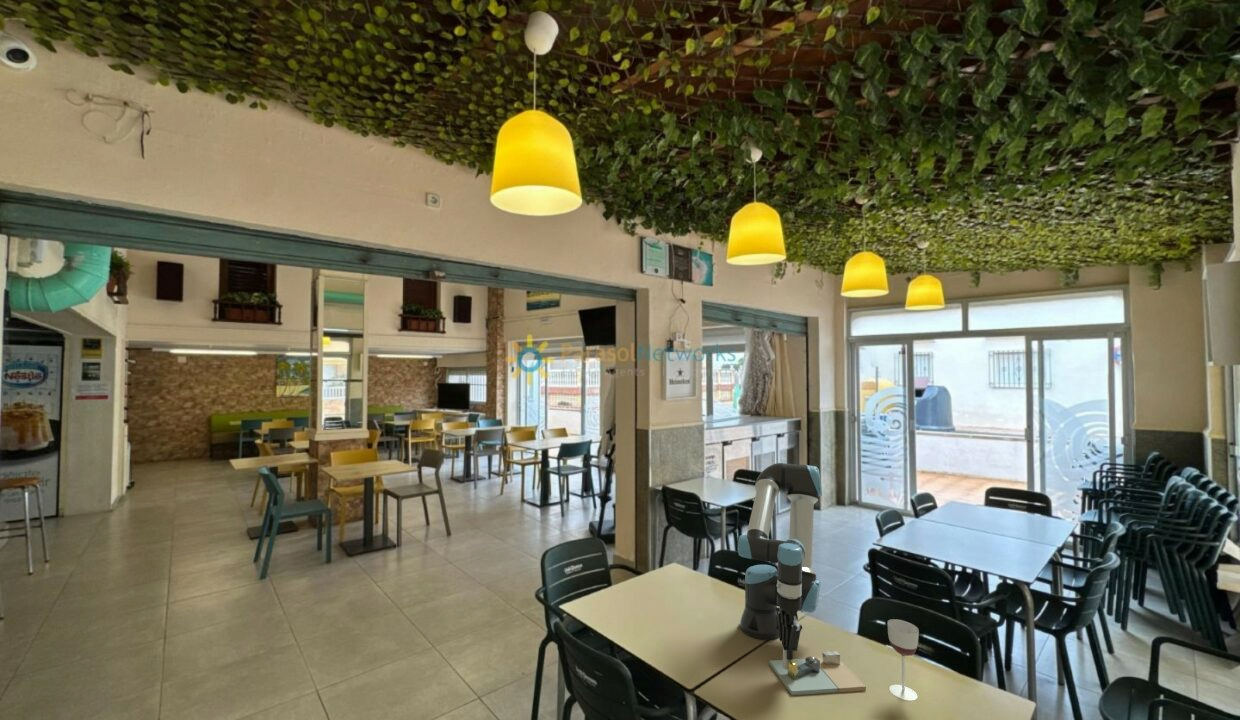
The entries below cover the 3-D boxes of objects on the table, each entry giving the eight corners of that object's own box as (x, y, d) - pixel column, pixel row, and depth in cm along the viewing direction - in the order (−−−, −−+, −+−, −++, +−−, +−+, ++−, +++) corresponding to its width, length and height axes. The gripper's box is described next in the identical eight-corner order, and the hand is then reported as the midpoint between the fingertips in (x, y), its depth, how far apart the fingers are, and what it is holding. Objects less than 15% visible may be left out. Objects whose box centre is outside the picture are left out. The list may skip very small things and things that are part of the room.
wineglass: (904, 703, 145) (904, 635, 146) (881, 685, 153) (881, 621, 154) (925, 699, 147) (925, 631, 148) (902, 681, 156) (901, 617, 156)
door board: (769, 664, 164) (769, 660, 164) (837, 660, 167) (837, 656, 167) (791, 695, 148) (791, 691, 148) (865, 690, 151) (865, 686, 151)
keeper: (822, 661, 164) (822, 652, 164) (836, 660, 164) (836, 651, 165) (825, 665, 162) (825, 655, 162) (840, 664, 162) (840, 654, 163)
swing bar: (811, 663, 163) (811, 650, 163) (822, 670, 159) (822, 657, 159) (784, 673, 157) (784, 660, 157) (795, 681, 153) (795, 668, 153)
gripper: (769, 585, 164) (767, 657, 163) (788, 604, 151) (786, 681, 150) (790, 585, 165) (788, 655, 164) (810, 602, 152) (808, 679, 152)
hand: (787, 668), depth 157 cm, fingers closed
